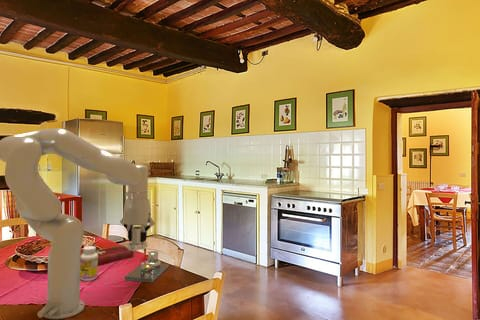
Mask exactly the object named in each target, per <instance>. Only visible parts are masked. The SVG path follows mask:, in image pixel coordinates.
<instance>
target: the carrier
mask: <svg viewBox="0 0 480 320" xmlns="http://www.w3.org/2000/svg"><path fill="white" fill-rule="evenodd" d="M169 265H170V264H169V263H162V262H161V260H160V259H159V251H155V250H154V251H153V250H151V251H148V253H147V259H146V260H145V261H141V262H140V264H139V265H137V267H135V268H134V269H133V270H131V271H130V272H129V273H128V274H126V275H125V276H124V281H130V282H139V283H148V284H149V283H154V282H155V281H156V279H158V278H159V277H160V276H161V275H162V274H163V273H164V272H165V271H166V270H167V269H168V268H169Z"/></svg>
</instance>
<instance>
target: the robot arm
mask: <svg viewBox="0 0 480 320" xmlns="http://www.w3.org/2000/svg"><path fill="white" fill-rule="evenodd" d="M49 154H51V155H57V156H59V157H60V158H63V159H65V160H67V161H69V162H70V163H73V164H75V165H77V166H79V167H80V168H83V169H85V170H89V171H90V172H94V173H95V172H96V173H99V174H104V175H106V179H107V180H108V181H109V182H110V183H112V184H114V185H120V186H126V187H127V192H125V193H124V195H125V196H126V197H127V198H126V199H125V202H124V205H123V214H122V219H121V220H120V221H119V223H120V224H121V225H122V226H123V227H124V228H125V229H126V232H127V240H128V242H129V241H131V228H132V227H134V226H140V227H142V232H141V242H144V241H145V242H147V241H146V240H147V238H148V237H147V236H148V235H147V234H148V232H147V231H149V229H151V228H152V227H153V226H154V225H156V222H155V221H154V219H153V218H152V212H151V211H152V210H151V203H150V199H149V198H148V197H149V196H148V193H149V192H148V190H149V189H148V188H149V183H148V181H149V168H148V166H147V165H145V164H133V163H132V162H130V161H128V160H127V159H124V158H123V157H120V156H118V155H116V154H114V153H112V152H109V151H107V150H104V149H103V148H100V147H98V146H96V145H94V144H92V143H91V142H89V141H87V140H85V139H84V138H82V137H81V136H79V135H77V134H75V133H73V132H71V131H70V130H68V129H65V128H63V127H62V128H61V127H60V128H58V127H55V128H43V129H40V130H39V129H37V130H34V131H30V132H25V133H24V132H23V133H20V134H14V135H10V136H5V137H3V138H2V139H0V160H1V161H2V162H4V163H5V167H4V168H5V170H4V179H5V183H6V185H7V187H8V188H9V190H10V191H11V193H12V194H13V195H14V196H15V198H16V200H15V210H16V211H17V213H18V214H19V217H20V218H22V219H23V220H24V222H26V224H27V225H28V226H29V227H30V228H31V229H32V230H33V231H34V232H35V233H36V235H38V236H39V237H41V238H42V239H44V240H47V241H49V242H51V246H50V249H49V251H48V257H47V291H46V292H47V294H46V296H47V300H46V301H45V306H43V307H42V308H41V310H39V311H37V317H38V318H45V319H49V320H60V319H61V320H62V319H67V318H70V317H74V316H75V315H78V314H79V313H81V312H82V311H83V310H84V309H85V302H84V301H83V300H82V299H80V297H81V296H80V293H81V289H80V288H81V279H80V259H81V255H82V244H83V240H84V235H85V227H84V225H83V223H82V221H81V220H80V219H78V218H77V217H76V216H73V215H69V214H66V213H62V209H63V206H62V202H61V200H60V199H59V197H58V196H57V195H56V194H55V192H53V190H52V188H51V187H49V185H48V184H47V183H46V182H45V181H44V179H43V177H42V176H41V174H40V173H39V163H40V160H41V157H42V156H45V155H46V156H47V155H49Z"/></svg>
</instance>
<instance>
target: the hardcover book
mask: <svg viewBox="0 0 480 320" xmlns="http://www.w3.org/2000/svg"><path fill="white" fill-rule="evenodd" d="M83 253H84V252H81V255H82V254H83ZM95 253H97V254H98V266H102V265H105V264H110V263H114V262H117V261H122V260H125V259H126V260H127V259H131V258H135V250H128V248H127V245H126V246H125V245H124V244H120V245H115V246H111V247H106V248H101V249H96V250H95Z"/></svg>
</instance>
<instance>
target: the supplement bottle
mask: <svg viewBox="0 0 480 320" xmlns="http://www.w3.org/2000/svg"><path fill="white" fill-rule="evenodd" d="M95 250H97V247H96V246H93V245H89V246H88V245H87V246H84V247H83V249H82V251H83V252H82V253H83V254H82V253H81V257H80V281H82V282H83V281H84V282H91V281H93V280H95V279H97V278H98V274H99V273H98V269H99V265H98V254H97V253H95Z"/></svg>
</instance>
